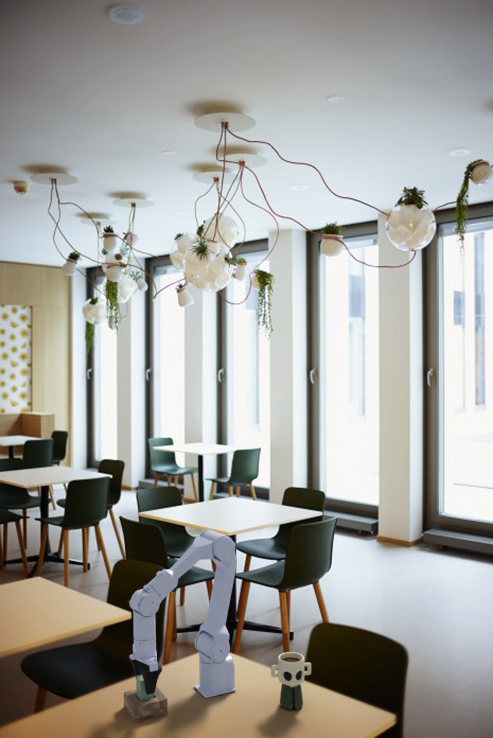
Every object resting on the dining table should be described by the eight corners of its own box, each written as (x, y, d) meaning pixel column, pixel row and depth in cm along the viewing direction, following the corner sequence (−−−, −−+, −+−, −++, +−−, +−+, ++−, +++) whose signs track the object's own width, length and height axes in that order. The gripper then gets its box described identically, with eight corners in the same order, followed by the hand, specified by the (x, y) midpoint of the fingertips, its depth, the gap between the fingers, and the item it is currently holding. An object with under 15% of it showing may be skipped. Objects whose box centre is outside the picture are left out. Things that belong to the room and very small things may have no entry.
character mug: (273, 713, 190) (273, 664, 190) (268, 700, 197) (268, 653, 197) (314, 710, 191) (314, 661, 191) (308, 697, 199) (308, 650, 198)
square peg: (149, 702, 194) (148, 673, 194) (153, 708, 191) (153, 678, 191) (136, 705, 193) (136, 675, 192) (140, 711, 190) (140, 681, 189)
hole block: (155, 699, 198) (155, 685, 198) (167, 714, 190) (167, 699, 190) (123, 707, 194) (123, 692, 194) (134, 722, 186) (134, 706, 186)
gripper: (121, 630, 196) (122, 679, 197) (139, 649, 183) (139, 702, 184) (146, 625, 199) (147, 674, 200) (165, 644, 186) (166, 696, 187)
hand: (145, 687), depth 192 cm, fingers open, 7 cm apart
